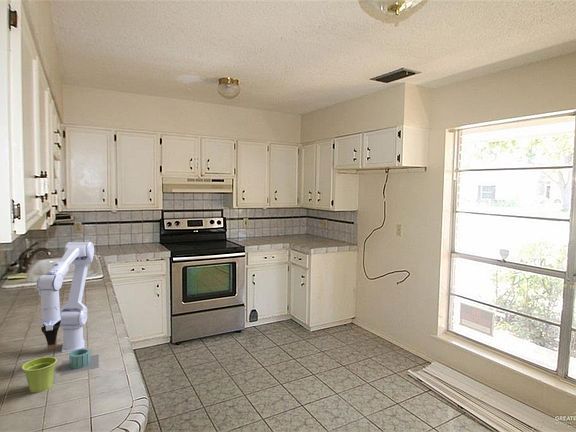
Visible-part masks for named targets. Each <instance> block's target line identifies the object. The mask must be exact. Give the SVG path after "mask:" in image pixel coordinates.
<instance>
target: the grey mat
mask: <svg viewBox="0 0 576 432" xmlns="http://www.w3.org/2000/svg"><path fill="white" fill-rule="evenodd" d="M99 361H100V360H99V354H94V355H91V364H89V365H88V366H86V367H84V368H79V369H72V368H70V362H69V359H68V360H63V361H62V363H61V369H60V376H64V375H70V374H76V373H79V372H80V373H81V372H84V371H89V370H95V369H99V368H100V364H99V363H100V362H99Z"/></svg>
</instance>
